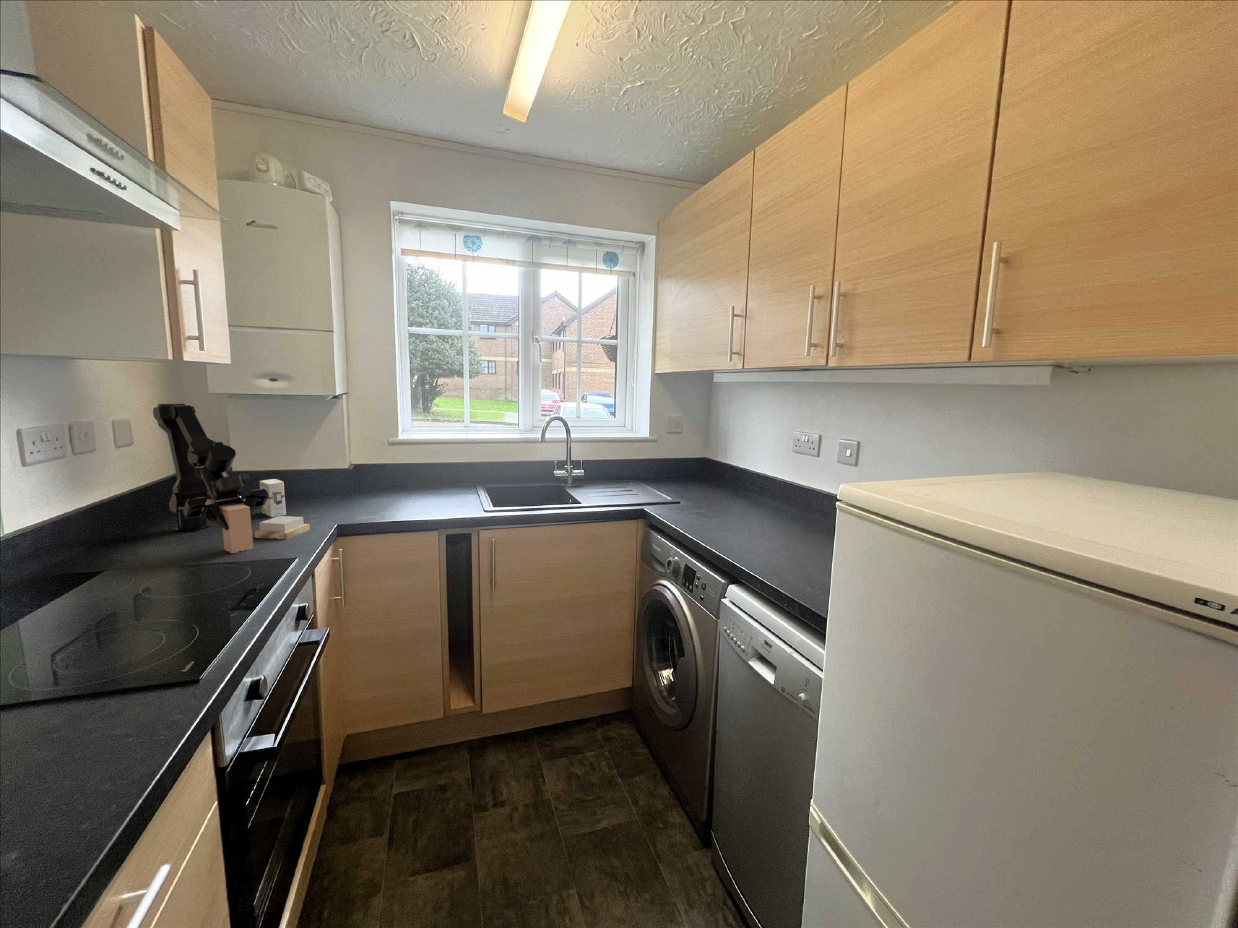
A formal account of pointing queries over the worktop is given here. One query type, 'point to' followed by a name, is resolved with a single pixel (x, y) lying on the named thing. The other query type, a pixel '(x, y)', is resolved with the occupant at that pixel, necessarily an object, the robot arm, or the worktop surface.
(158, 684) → the worktop surface
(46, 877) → the worktop surface
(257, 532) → the base slab
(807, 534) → the worktop surface
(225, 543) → the pillar block
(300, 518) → the top slab
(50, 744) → the worktop surface
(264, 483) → the ink box
